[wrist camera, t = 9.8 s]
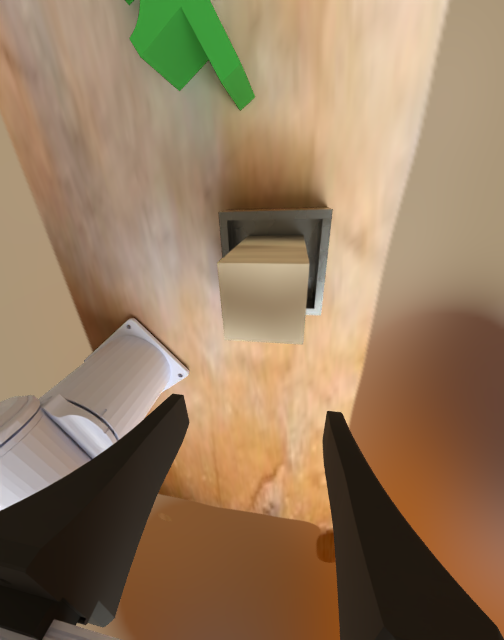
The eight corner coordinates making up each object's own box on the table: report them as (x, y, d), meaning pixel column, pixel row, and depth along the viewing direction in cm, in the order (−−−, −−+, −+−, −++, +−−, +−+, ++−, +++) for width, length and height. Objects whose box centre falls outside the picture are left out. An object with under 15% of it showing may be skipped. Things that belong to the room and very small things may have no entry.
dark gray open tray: (318, 301, 20) (320, 315, 18) (234, 299, 21) (227, 311, 19) (327, 207, 17) (332, 209, 14) (228, 209, 18) (218, 212, 15)
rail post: (300, 288, 19) (303, 344, 12) (249, 287, 20) (224, 340, 13) (303, 235, 17) (309, 263, 10) (248, 235, 18) (217, 263, 11)
